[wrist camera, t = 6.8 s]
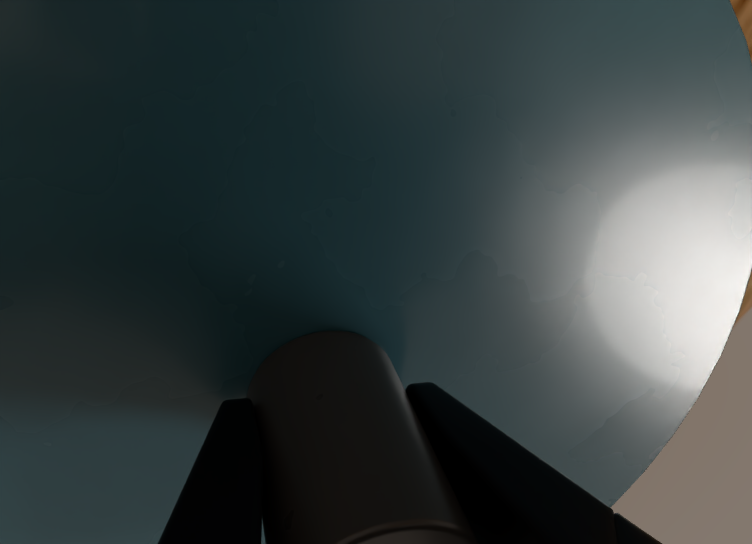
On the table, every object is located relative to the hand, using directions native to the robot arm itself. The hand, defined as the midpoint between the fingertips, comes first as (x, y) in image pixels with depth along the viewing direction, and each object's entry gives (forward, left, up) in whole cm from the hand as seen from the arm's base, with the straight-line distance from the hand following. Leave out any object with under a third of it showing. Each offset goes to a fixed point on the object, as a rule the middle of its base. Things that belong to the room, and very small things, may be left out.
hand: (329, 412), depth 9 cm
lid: (0, 0, -1) cm, 1 cm away
